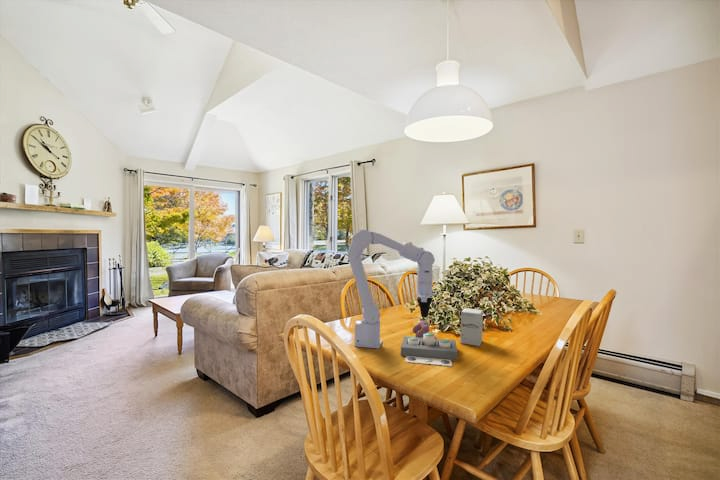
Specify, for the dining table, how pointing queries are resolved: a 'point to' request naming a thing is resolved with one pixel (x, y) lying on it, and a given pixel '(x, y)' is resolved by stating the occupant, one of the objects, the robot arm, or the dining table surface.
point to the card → (428, 361)
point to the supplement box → (471, 326)
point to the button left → (413, 341)
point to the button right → (444, 343)
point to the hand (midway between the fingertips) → (424, 316)
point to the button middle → (428, 339)
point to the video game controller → (421, 328)
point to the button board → (429, 350)
